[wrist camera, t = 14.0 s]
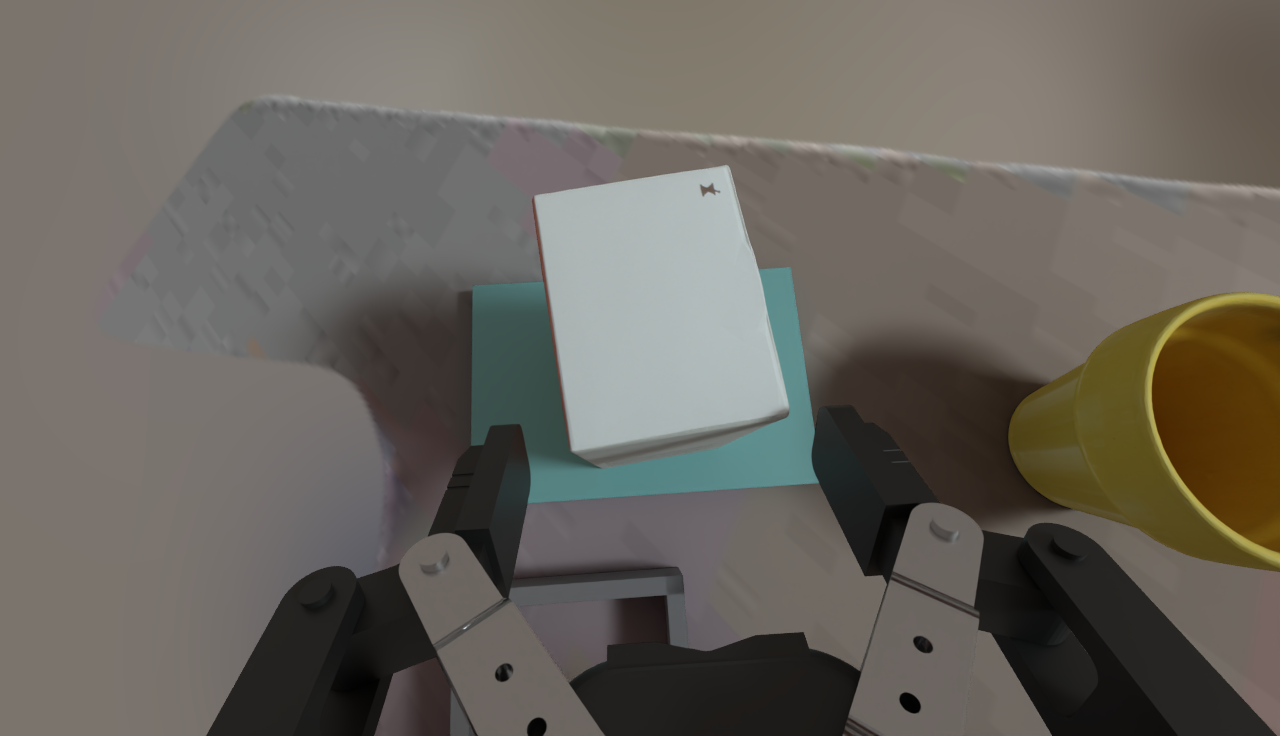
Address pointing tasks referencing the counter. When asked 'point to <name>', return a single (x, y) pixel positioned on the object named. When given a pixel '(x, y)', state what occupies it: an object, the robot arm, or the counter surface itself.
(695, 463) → the board
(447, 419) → the counter surface
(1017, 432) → the plant pot
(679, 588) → the tray frame
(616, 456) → the small box
